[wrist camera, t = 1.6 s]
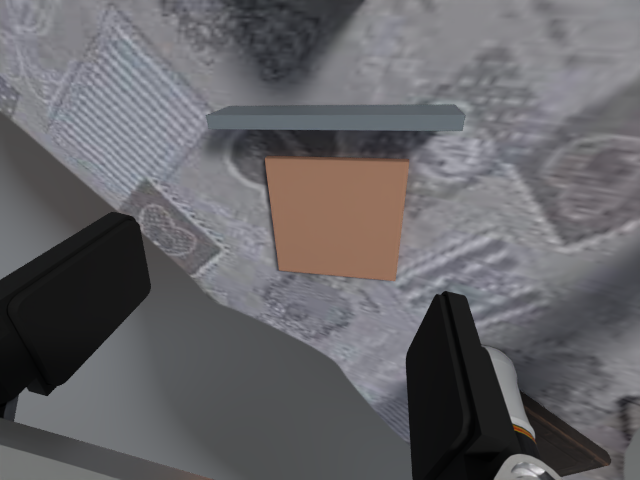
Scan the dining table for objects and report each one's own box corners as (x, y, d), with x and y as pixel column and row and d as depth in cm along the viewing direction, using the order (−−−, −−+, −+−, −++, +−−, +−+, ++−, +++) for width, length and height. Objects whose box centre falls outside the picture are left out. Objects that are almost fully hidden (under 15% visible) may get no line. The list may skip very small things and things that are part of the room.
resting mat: (408, 158, 32) (409, 162, 31) (395, 276, 40) (395, 281, 39) (267, 155, 35) (264, 158, 34) (281, 265, 42) (279, 270, 42)
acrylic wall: (454, 104, 29) (465, 115, 24) (452, 118, 29) (462, 131, 25) (229, 106, 33) (205, 115, 28) (231, 118, 33) (208, 129, 29)
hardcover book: (515, 472, 59) (520, 487, 57) (423, 414, 55) (425, 427, 53) (605, 448, 50) (613, 464, 48) (504, 376, 46) (509, 391, 44)
